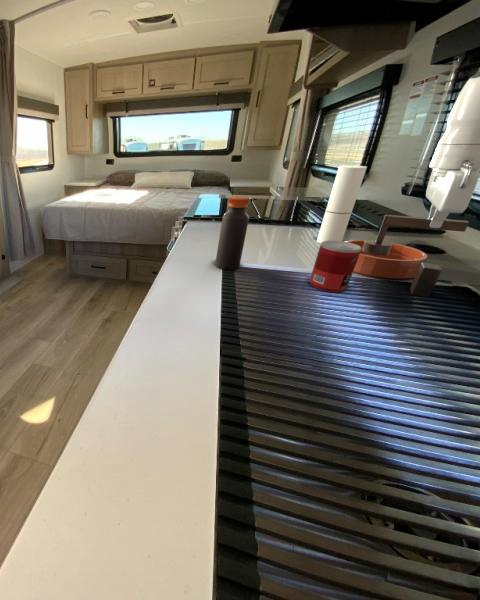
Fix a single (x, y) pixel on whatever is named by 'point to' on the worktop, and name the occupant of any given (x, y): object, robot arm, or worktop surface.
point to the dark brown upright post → (425, 279)
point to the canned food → (334, 265)
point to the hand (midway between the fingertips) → (432, 225)
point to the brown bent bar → (384, 247)
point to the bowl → (390, 262)
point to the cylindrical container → (341, 203)
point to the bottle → (232, 234)
